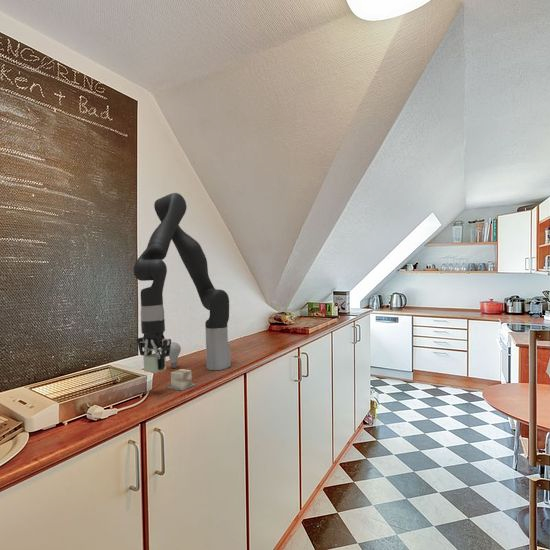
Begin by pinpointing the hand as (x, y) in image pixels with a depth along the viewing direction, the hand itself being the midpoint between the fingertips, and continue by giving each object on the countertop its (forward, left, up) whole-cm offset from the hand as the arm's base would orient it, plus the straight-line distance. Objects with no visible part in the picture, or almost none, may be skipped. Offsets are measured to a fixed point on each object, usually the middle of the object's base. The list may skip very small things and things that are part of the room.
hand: (155, 368), depth 119 cm
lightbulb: (-17, -27, -8) cm, 33 cm away
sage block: (0, 0, -1) cm, 1 cm away
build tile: (-9, 0, -8) cm, 12 cm away
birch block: (-9, 0, -8) cm, 12 cm away
